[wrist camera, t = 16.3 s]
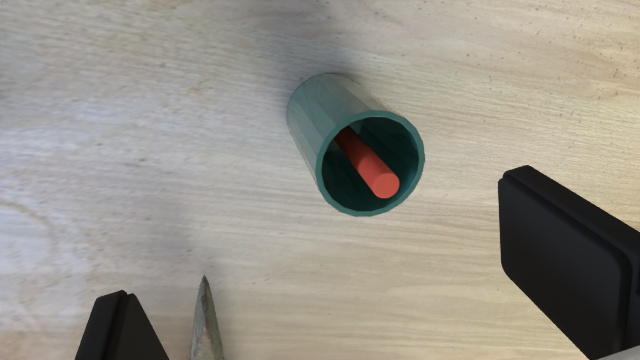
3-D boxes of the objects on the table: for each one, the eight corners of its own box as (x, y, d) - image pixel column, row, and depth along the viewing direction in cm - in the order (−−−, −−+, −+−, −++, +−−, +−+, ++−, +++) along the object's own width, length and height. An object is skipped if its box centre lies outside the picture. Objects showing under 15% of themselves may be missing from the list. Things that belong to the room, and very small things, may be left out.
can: (277, 84, 37) (304, 127, 26) (359, 64, 37) (418, 97, 27) (296, 162, 40) (327, 229, 29) (372, 141, 40) (429, 199, 30)
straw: (318, 112, 38) (371, 177, 25) (336, 107, 38) (398, 169, 25) (322, 129, 38) (375, 201, 26) (340, 125, 39) (401, 194, 26)
